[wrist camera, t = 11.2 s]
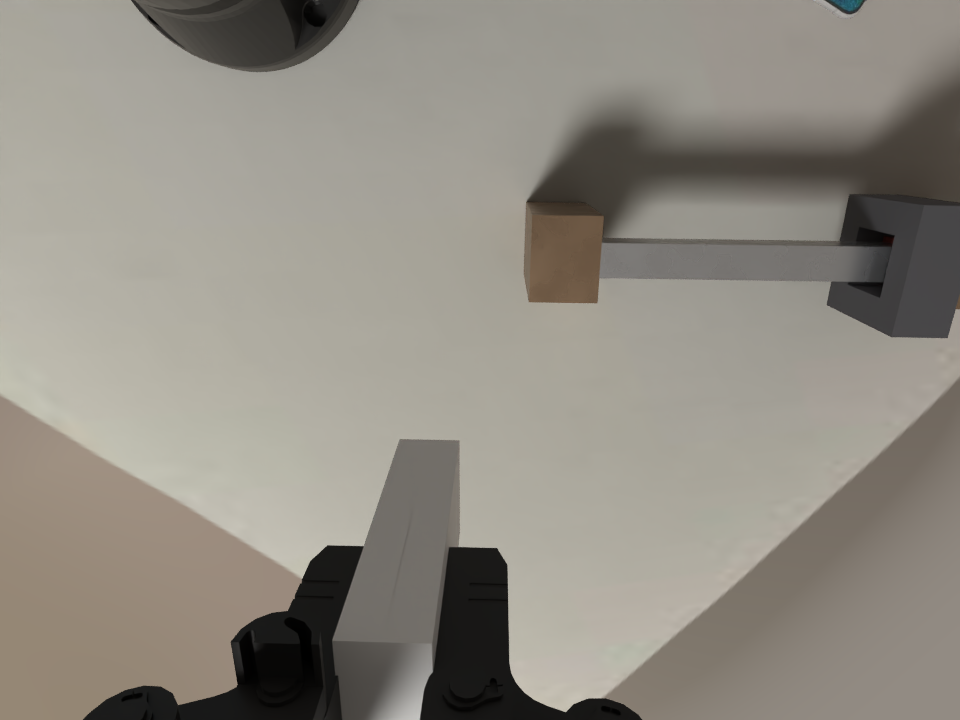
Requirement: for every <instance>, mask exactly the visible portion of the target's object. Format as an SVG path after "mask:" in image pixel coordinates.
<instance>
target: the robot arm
mask: <svg viewBox="0 0 960 720" xmlns="http://www.w3.org/2000/svg"><path fill="white" fill-rule="evenodd" d="M131 1H132V2H133V3H134V5H135V6H136V7H137V8H138V10H139V11H140V12H141V13H142V14H143V16H144V17H145V18H146V19H147V20H148V21H149V22H150V23H151V24H152V25H153V26H154V27H155V28H156V29H157V30H158V31H159V32H160V33H161V34H163V35H164V36H165V37H166V38H168V39H169V40H170V41H172V42H173V43H174V44H176V45H177V46H179V47H181V48H182V49H184V50H185V51H187V52H189V53H191V54H192V55H194V56H197V57H199V58H201V59H203V60H206V61H208V62H211V63H214V64H218V65H221V66H225V67H228V68H232V69H237V70H242V71H249V72H268V71H276V70H281V69H285V68H289V67H292V66H295V65H297V64H300V63H302V62H304V61H306V60H308V59H309V58H311V57H313V56H314V55H316V54H317V53H318V52H320V51H321V50H323V49H324V48H325V47H326V46H327V45H328V44H329V43H330V42H331V41H332V40H333V39H334V38H335V37H336V36H337V35H338V34H339V32H340V31H341V30H342V28H343V27H344V26H345V24H346V23H347V21H348V19H349V18H350V16H351V14H352V12H353V10H354V8H355V6H356V4H357V2H358V0H131ZM459 534H460V482H459V441H455V440H409V439H400V440H399V443H398V446H397V449H396V452H395V455H394V458H393V461H392V464H391V467H390V470H389V473H388V476H387V479H386V482H385V485H384V488H383V491H382V494H381V497H380V500H379V503H378V506H377V509H376V512H375V515H374V518H373V521H372V524H371V527H370V530H369V533H368V535H367V538H366V541H365V544H364V546H329V545H327V546H326V547H325V548H324V549H323V550H322V551H321V552H320V553H319V554H318V555H317V556H316V557H314V558H313V559H312V560H311V561H310V563H309V565H308V568H307V570H306V572H305V574H304V576H303V579H302V583H301V584H300V585H299V588H298V590H297V592H296V594H295V599H293V601H292V603H291V605H290V608H289V610H288V611H284V612H276V613H271V614H268V615H265V616H263V617H260V618H257V619H255V620H254V621H252V622H251V623H249V624H248V625H246V626H245V627H243V628H242V629H241V630H240V631H239V632H238V634H237V635H236V636H235V637H234V639H233V640H232V641H231V647H232V653H233V659H234V665H235V671H236V677H237V683H238V685H237V687H236V688H234V689H232V690H230V691H229V692H226V693H223V694H220V695H217V696H215V697H211V698H206V699H202V700H198V701H194V702H190V703H186V704H182V705H178V704H177V702H176V700H175V698H174V696H173V694H172V693H171V692H169V691H167V690H165V689H164V688H162V687H157V686H141V687H137V688H133V689H128V690H125V691H123V692H121V693H119V694H117V695H115V696H113V697H111V698H109V699H107V700H105V701H104V702H103V703H101V704H100V705H99V706H98V707H97V708H95V709H94V710H93V711H91V712H90V713H89V714H88V715H87V716H86V717H85V718H84V719H83V720H642V719H641V718H640V716H639V715H638V714H636V713H635V712H633V711H632V710H631V709H629V708H628V707H626V706H625V705H624V704H621V703H618V702H615V701H612V700H609V699H586V700H583V701H581V702H578V703H576V704H573V706H572V707H571V708H570V709H569V710H568V711H567V712H563V711H560V710H557V709H554V708H551V707H549V706H546V705H544V704H542V703H539V702H537V701H535V700H533V699H532V698H531V697H529V696H528V695H527V694H525V693H524V692H523V691H522V690H521V689H520V687H519V686H518V685H517V684H516V682H515V680H514V678H513V676H512V674H511V671H510V665H509V628H508V573H507V564H506V562H505V560H504V559H503V557H502V556H501V554H500V552H499V551H498V549H497V548H468V547H458V544H459Z"/></svg>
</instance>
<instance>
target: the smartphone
mask: <svg viewBox="0 0 960 720" xmlns="http://www.w3.org/2000/svg"><path fill="white" fill-rule="evenodd" d="M813 1H815V2H817V3H818V4H820V5H821V6H823V7H824V8H826V9H827V10H829V11H830V12H832V13H833V14H835V15H836V16H838V17H840V18H843V19H848V18H851V17H853V16H855V15H856V14H857V13H858V12H859V11H860V10H861V8H862V7H863V5H864V4H865V2H866V1H867V0H813Z"/></svg>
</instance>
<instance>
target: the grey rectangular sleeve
mask: <svg viewBox="0 0 960 720" xmlns="http://www.w3.org/2000/svg"><path fill="white" fill-rule="evenodd" d="M884 236H895V237H894V241H893V245H892V249H891V254H890V258H889V262H888V266H887V271H886V275H885V279H884V283H883V282H836V281H832V282H831V286H830V291H829V296H828V301H827V305H828V306H830V307H832V308H834V309H836V310H838V311H840V312H842V313H844V314H846V315H848V316H850V317H852V318H854V319H856V320H858V321H860V322H862V323H864V324H866V325H868V326H870V327H872V328H874V329H876V330H878V331H880V332H882V333H884V334H886V335H888V336H890V337H917V338H948V334H949V331H950V327H951V324H952V320H953V317H954V313H955V309H956V306H957V302H958V299H959V295H960V203H957V202H949V201H942V200H934V199H927V198H919V197H911V196H904V195H865V194H849V199H848V204H847V209H846V214H845V219H844V223H843V228H842V233H841V238H840V241H867V242H883V238H884Z"/></svg>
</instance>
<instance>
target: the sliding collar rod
mask: <svg viewBox="0 0 960 720" xmlns="http://www.w3.org/2000/svg"><path fill="white" fill-rule="evenodd" d="M603 221H604V216H603V215H602V214H600V213H599V212H597V211H596V210H595V209H593V208H592V207H590V206H589V205H588V204H586V203H569V202H526V224H525V254H524V278H525V284H526V289H527V294H528V300H529V302H553V303H597V301H598V287H599V278H636V279H703V280H769V281H836V282H883V283H884V279H885V275H886V271H887V266H888V262H889V258H890V254H891V249H892V245H893V241H894V237H895V236H884V238H883V242H867V241H793V240H718V239H643V238H602V235H603ZM956 309H960V295H959V299H958V302H957V306H956Z"/></svg>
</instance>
